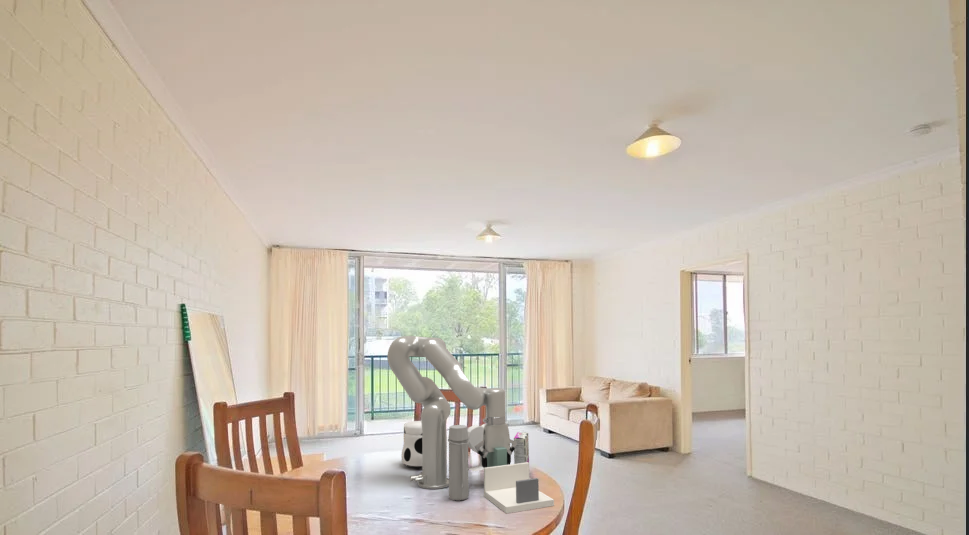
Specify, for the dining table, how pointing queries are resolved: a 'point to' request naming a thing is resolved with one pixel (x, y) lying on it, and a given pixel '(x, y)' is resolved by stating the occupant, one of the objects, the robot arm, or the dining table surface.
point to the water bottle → (458, 462)
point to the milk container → (412, 444)
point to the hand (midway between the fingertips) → (496, 466)
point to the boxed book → (497, 457)
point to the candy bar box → (521, 448)
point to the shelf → (514, 488)
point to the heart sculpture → (475, 441)
